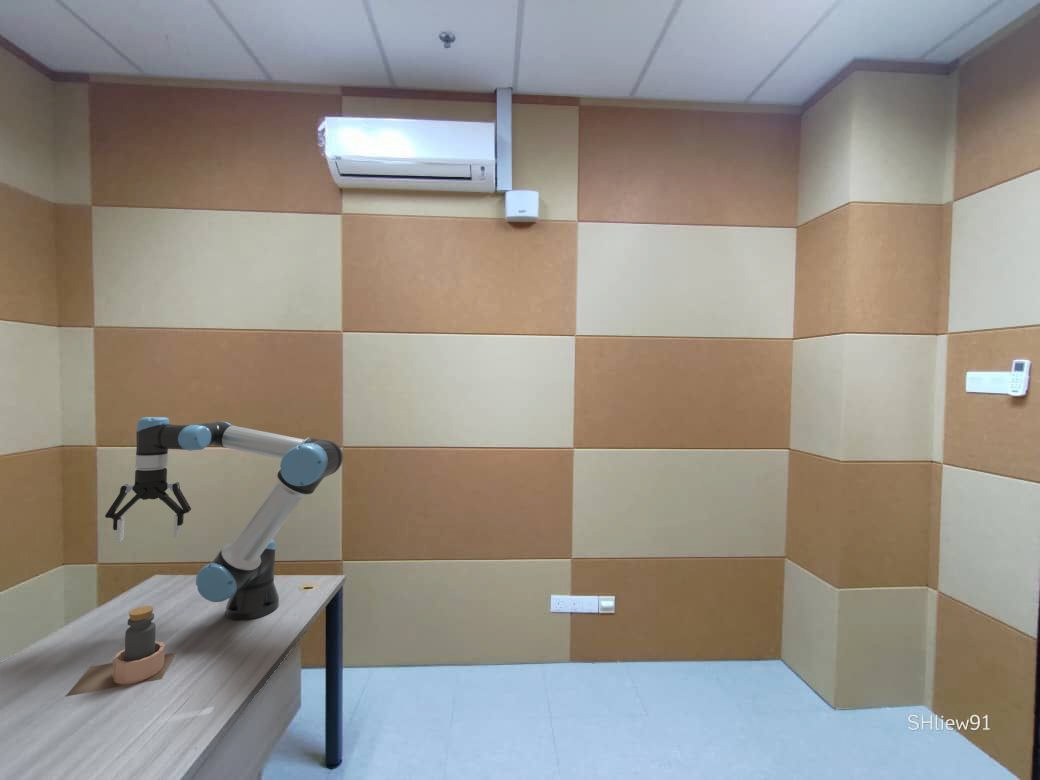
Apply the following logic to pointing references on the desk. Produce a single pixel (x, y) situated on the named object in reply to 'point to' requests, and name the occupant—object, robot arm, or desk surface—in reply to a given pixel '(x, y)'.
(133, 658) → the bottle
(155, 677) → the board
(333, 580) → the desk surface
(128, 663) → the terracotta bowl
